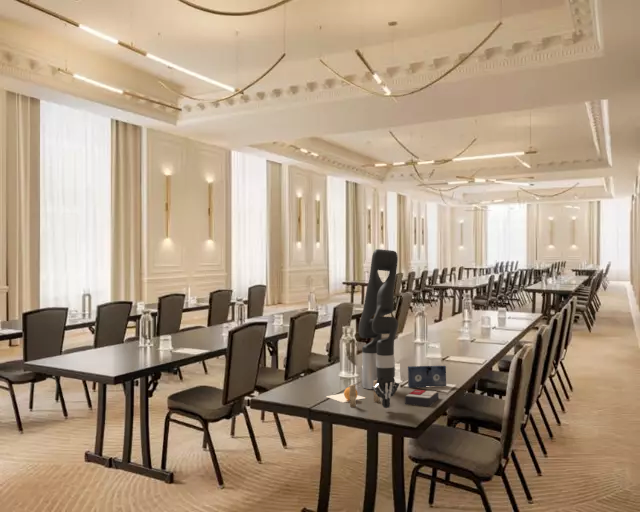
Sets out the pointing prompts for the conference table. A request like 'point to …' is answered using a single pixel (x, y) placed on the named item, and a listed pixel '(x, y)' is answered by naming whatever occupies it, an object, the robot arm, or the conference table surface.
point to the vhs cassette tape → (426, 376)
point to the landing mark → (342, 397)
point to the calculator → (421, 398)
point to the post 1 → (352, 395)
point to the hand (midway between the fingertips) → (386, 407)
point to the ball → (348, 393)
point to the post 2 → (376, 398)
